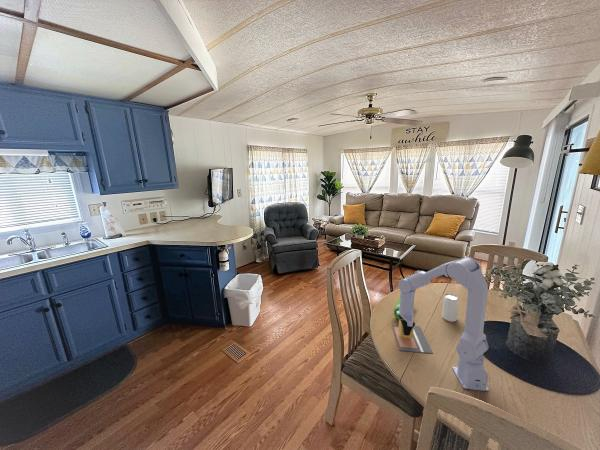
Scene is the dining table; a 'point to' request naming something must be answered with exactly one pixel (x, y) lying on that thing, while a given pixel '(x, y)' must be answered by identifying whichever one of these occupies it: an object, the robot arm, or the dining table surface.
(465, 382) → the robot arm
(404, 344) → the mat
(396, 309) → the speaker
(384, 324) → the dining table surface
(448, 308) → the can
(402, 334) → the block
